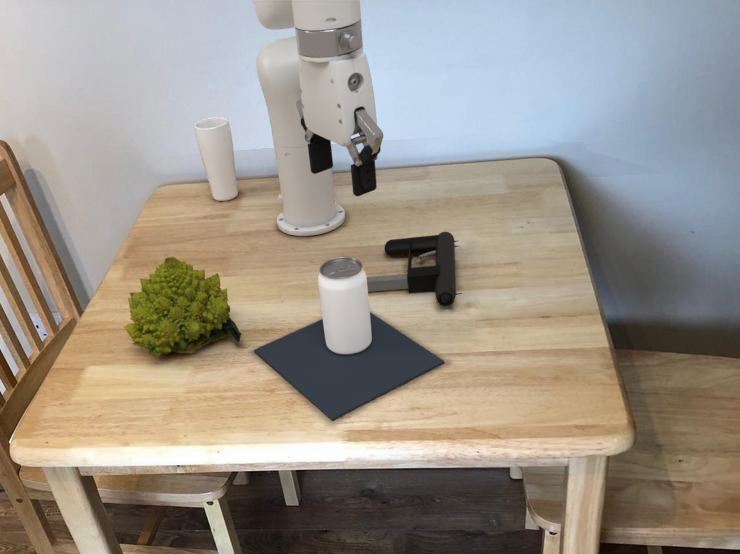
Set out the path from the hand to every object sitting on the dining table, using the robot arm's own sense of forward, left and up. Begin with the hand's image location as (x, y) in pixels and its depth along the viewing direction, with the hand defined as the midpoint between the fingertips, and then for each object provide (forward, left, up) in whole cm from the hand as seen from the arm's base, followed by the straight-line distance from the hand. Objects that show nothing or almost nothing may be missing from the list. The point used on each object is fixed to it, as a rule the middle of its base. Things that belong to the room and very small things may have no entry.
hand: (342, 181), depth 97 cm
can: (+4, -4, -22) cm, 22 cm away
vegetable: (-14, -21, -22) cm, 34 cm away
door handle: (-5, +14, -22) cm, 27 cm away
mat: (+6, -6, -22) cm, 23 cm away
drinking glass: (-57, +8, -22) cm, 62 cm away
